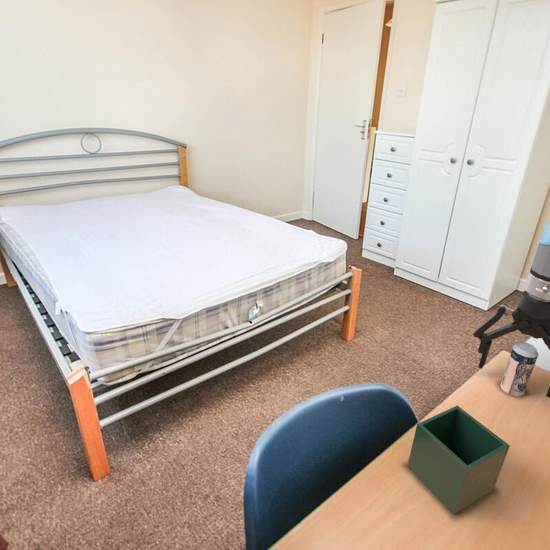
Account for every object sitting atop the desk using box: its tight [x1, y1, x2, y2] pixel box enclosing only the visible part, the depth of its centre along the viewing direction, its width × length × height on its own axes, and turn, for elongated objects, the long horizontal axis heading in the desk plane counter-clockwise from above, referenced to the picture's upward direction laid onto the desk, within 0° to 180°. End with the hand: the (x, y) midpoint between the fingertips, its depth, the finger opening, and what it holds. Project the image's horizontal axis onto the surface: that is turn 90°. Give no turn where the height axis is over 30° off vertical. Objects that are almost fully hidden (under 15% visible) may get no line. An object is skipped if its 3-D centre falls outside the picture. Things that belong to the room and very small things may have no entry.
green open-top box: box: [407, 405, 511, 515], centre depth 64 cm, size 10×10×11 cm
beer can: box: [500, 341, 539, 397], centre depth 85 cm, size 5×5×12 cm
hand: (513, 379), depth 86 cm, fingers open, 13 cm apart
